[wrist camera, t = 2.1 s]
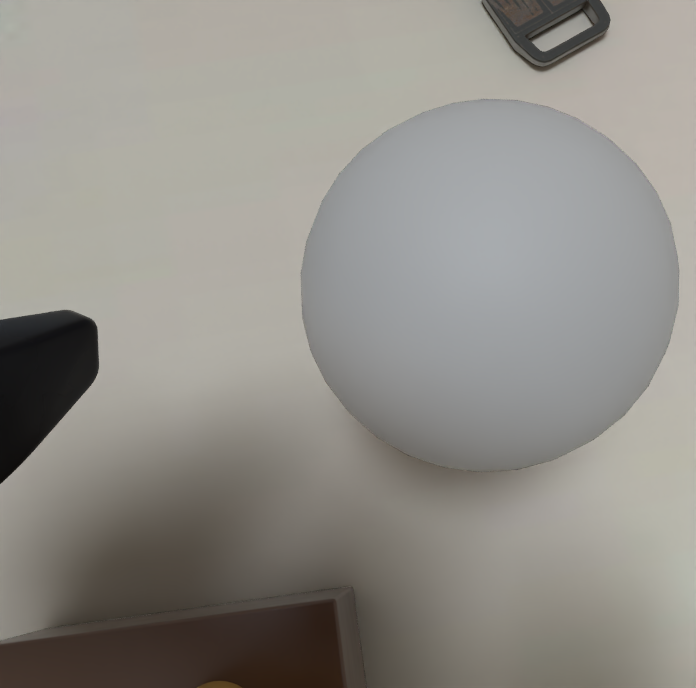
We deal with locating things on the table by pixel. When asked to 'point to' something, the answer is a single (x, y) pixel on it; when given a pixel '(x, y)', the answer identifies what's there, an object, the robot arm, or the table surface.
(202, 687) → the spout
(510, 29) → the strap clip
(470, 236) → the lightbulb
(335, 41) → the table surface
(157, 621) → the brown rectangular block
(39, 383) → the robot arm
